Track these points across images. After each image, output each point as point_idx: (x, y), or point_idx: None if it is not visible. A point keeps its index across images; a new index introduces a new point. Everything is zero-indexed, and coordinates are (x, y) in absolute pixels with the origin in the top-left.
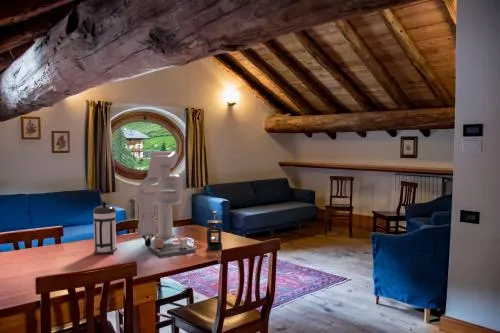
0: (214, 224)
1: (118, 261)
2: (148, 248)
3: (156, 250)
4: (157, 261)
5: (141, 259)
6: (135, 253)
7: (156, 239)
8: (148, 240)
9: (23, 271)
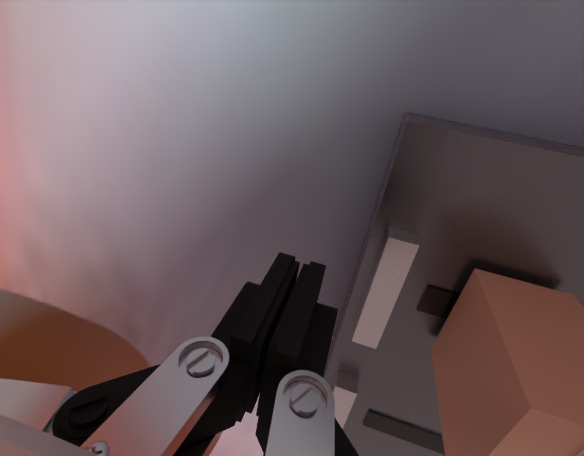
0: None
1: (17, 266)
2: (393, 156)
3: None
4: (245, 450)
5: (172, 351)
6: (186, 153)
7: (490, 432)
8: (250, 412)
9: None
